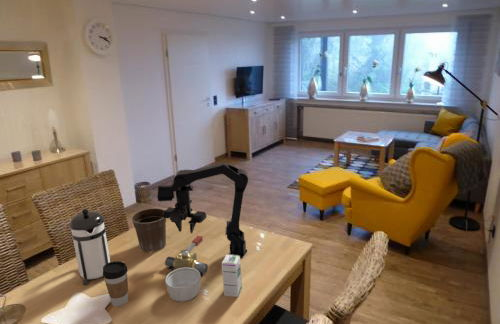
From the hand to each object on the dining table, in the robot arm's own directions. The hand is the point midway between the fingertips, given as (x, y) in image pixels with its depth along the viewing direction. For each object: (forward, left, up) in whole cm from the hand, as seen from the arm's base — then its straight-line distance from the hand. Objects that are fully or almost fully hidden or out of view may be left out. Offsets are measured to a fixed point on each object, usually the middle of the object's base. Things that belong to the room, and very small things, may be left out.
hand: (186, 232), depth 155 cm
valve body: (-5, +10, -12) cm, 16 cm away
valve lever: (-5, +4, -5) cm, 8 cm away
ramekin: (-12, +23, -12) cm, 29 cm away
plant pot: (+21, -3, -12) cm, 25 cm away
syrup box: (-29, +17, -12) cm, 36 cm away
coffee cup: (+9, +35, -12) cm, 38 cm away
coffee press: (+31, +24, -12) cm, 41 cm away
